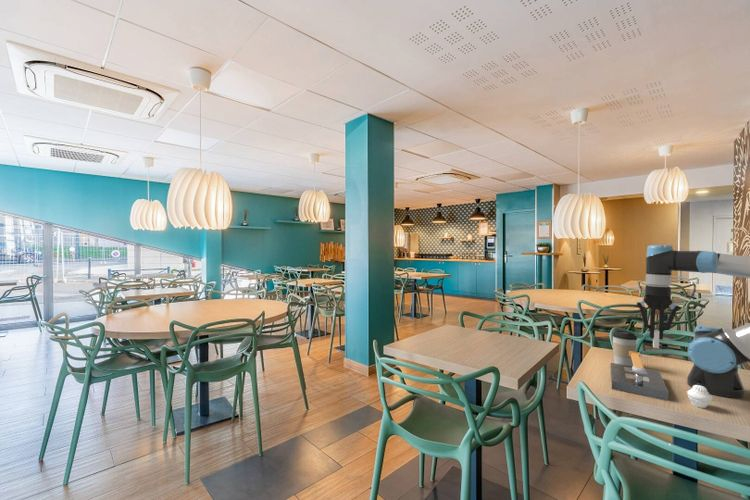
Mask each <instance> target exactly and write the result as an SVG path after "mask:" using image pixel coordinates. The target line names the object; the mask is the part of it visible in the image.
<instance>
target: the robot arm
mask: <svg viewBox="0 0 750 500" xmlns="http://www.w3.org/2000/svg"><path fill="white" fill-rule="evenodd" d="M646 249H647V250H646V256H645V268H646V269H645V284H646V285H645V286H644V287H645V290H644V291H645V292H644V297H643V299H642V300H640V301H636V302H635V304H636V305H637V307H638V308H639V311H640V316H641V319H642V323H643V326H644V327H645V328H646V329H649V338H650V339H652V347H653V348H654V349H659V348H660V340H661V341H662V340H663V339H664V331H669V330H671V327H672V324H673V322H674V319H675V316H676V313H677V312H678V311H679V310H680V308H681V307H680V305H678V304H675V303H674V302H673V300H672V287H671V286H672V275H673V274H672V273H673V272H689V273H701V274H709V273H710V274H719V275H725V276H732V277H739V278H745V279H750V256H745V255H739V254H738V255H736V254H728V253H718V252H715V251H709V250H674V249H673V246H672V245H670V244H669V245H668V244H667V245H666V244H663V245H662V244H655V245H654V244H651V245H648V246H647V248H646ZM645 304H646V306H647V307H648V308H649V309H650V315H649V316H650V317H649V323H648V319H647V316H646V312H645V308H644V307H645ZM669 307H670V311H669V314H668V316H667V319H666V322H665V310H667V309H668V308H669ZM656 311H658V329H655V328H656V327H655V326H656V325H655V324H656ZM664 323H665V326H664ZM693 333H694V339H693V340H691V342H690V343H689V344H688V347H687V355H688V357H689V359H690V361H691V362H692V363H693V366H692V367H691V369H690V371H689V374H688V375H687V378H686V383H687V385H688V386H689V387H691V388H692V387H693V386H694V385H700V386H703V387H705V388H706V389H707V392H708V393H709V394H710V395H714V396H719V397H725V398H736V399H737V398H743V397H745V388H744V385H743V382H742V379H741V377H740V375H739V372H738V371H739V366H741V365H743V364H746V363H749V362H750V322H749V323H746V324H743V325H741V326H738V327H735V328H728V327H721V328H720V327H715V326H714V327H713V326H712V327H711V326H706V325H705V326H704V325H696V326H695V328H694V332H693Z"/></svg>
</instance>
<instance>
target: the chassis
mask: <svg viewBox="0 0 750 500" xmlns="http://www.w3.org/2000/svg"><path fill="white" fill-rule="evenodd" d="M610 380H611V381H610V382H611V390H615V391H620V392H625V393H630V394H634V393H635V394H636V395H640V396H645V397H650V398H655V399H659V400H664V401H669V393H670V392H669V390H668V387H667V385H666V382H665V381H664V379H663V377H662V374H661V372H660V370H656V369H651V368H646V374H638V373H634V372H633V371H632V366H627V365H621V364H615V363H614V362H610ZM635 394H634V395H635Z"/></svg>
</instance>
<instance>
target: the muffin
mask: <svg viewBox="0 0 750 500" xmlns="http://www.w3.org/2000/svg"><path fill="white" fill-rule="evenodd" d="M686 395H687V397H688V399H689V401H690V402H691V404H692V405H693V406H694V407H697V408H701V409H705V408H707V407H708V406H709V405H710V404H711V402H712V400H713V396H712V394H710V393H708V392H707V389H706V388H705V387H703V386H700V385H694V386H693V387H691V388H690V389H689V390H687V391H686Z"/></svg>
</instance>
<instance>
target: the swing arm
mask: <svg viewBox="0 0 750 500" xmlns="http://www.w3.org/2000/svg"><path fill="white" fill-rule="evenodd" d="M629 357H631V359H632V362H633V366H632V371H633V372H634V373H638V374H646V369H647V368H645V367H644V366H643V363H642V359H641V353H640V352H639V351H635V352H632V351H629Z"/></svg>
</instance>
